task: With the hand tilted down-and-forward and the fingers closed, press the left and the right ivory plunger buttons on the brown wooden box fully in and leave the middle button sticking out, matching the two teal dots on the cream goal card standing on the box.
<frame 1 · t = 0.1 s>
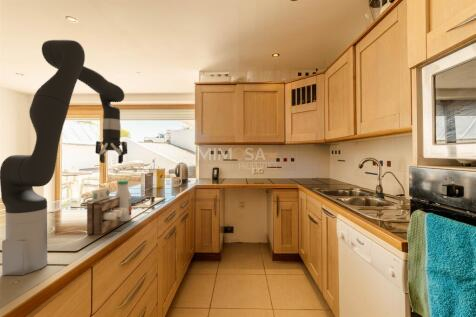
hand: (111, 163, 116), 29 cm above the counter, tool pointing down, fingers open, 8 cm apart
right button: (120, 210, 113), point 7 cm above the counter, slide at 0.0 cm
left button: (109, 216, 104), point 7 cm above the counter, slide at 0.0 cm
milk bottle: (122, 220, 123), on the counter
brown wooden box: (104, 228, 109), on the counter
middle button: (115, 213, 109), point 7 cm above the counter, slide at 0.0 cm
goal card: (104, 199, 109), resting on brown wooden box
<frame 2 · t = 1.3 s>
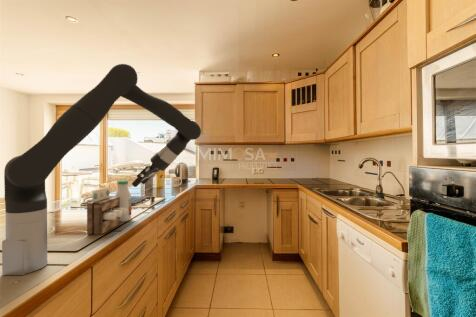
hand: (138, 184, 104), 21 cm above the counter, tool tilted 45°, fingers open, 8 cm apart
nothing on the counter moved.
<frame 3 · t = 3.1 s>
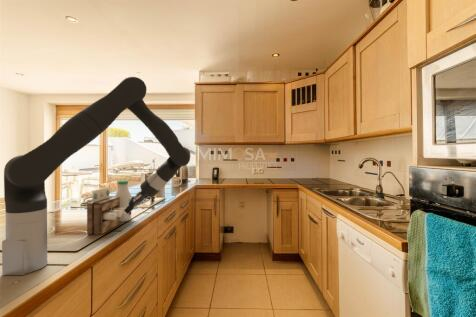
hand: (126, 211, 104), 9 cm above the counter, tool tilted 45°, fingers closed
nothing on the counter moved.
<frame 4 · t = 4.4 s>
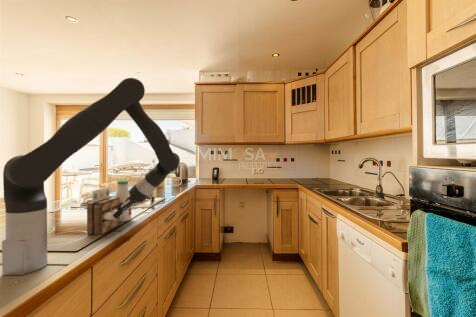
hand: (115, 216, 104), 7 cm above the counter, tool tilted 45°, fingers closed
left button: (108, 216, 104), point 7 cm above the counter, slide at 0.4 cm, touching gripper
everything else where it was.
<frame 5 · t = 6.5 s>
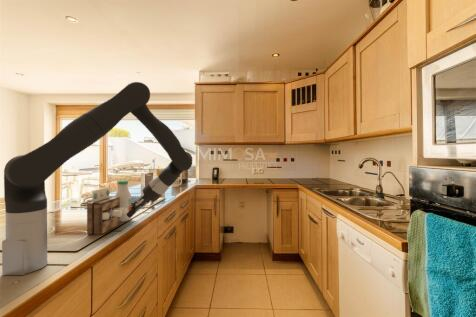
hand: (128, 215, 104), 7 cm above the counter, tool tilted 45°, fingers closed
left button: (102, 216, 104), point 7 cm above the counter, slide at 3.1 cm
everything else where it was.
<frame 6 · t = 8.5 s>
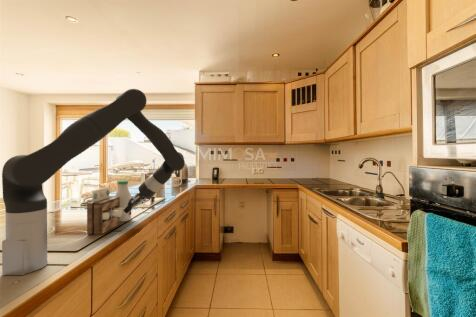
hand: (125, 211, 113), 7 cm above the counter, tool tilted 45°, fingers closed
right button: (119, 210, 113), point 7 cm above the counter, slide at 0.6 cm, touching gripper
everything else where it was.
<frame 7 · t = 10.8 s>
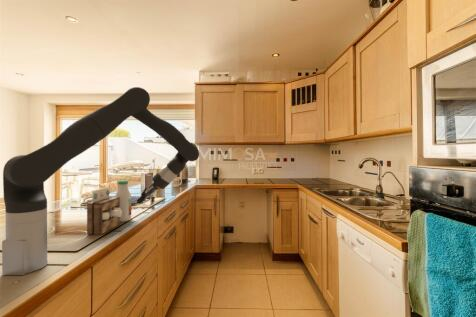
hand: (138, 202, 112), 11 cm above the counter, tool tilted 45°, fingers closed
right button: (114, 210, 114), point 7 cm above the counter, slide at 3.1 cm
everything else where it was.
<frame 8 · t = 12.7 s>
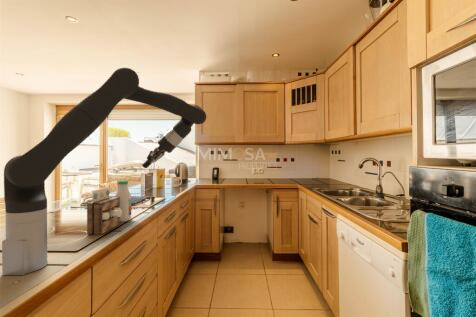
hand: (144, 166, 110), 28 cm above the counter, tool tilted 45°, fingers closed
nothing on the counter moved.
at the end: left button slide at 3.1 cm; right button slide at 3.1 cm; middle button slide at 0.0 cm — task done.
